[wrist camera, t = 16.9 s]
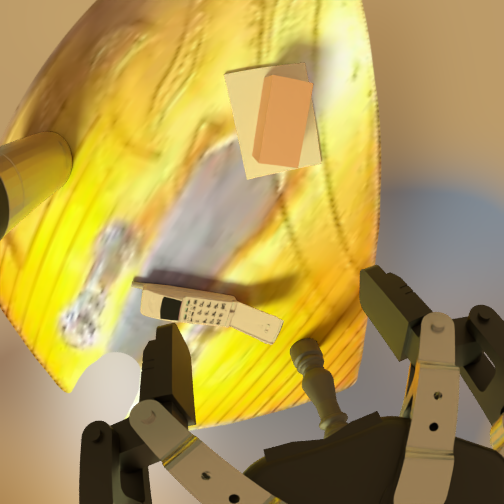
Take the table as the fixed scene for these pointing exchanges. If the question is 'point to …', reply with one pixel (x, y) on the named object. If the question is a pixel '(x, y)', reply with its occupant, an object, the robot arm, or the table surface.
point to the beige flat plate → (247, 108)
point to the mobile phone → (207, 310)
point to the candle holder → (318, 384)
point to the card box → (281, 121)
